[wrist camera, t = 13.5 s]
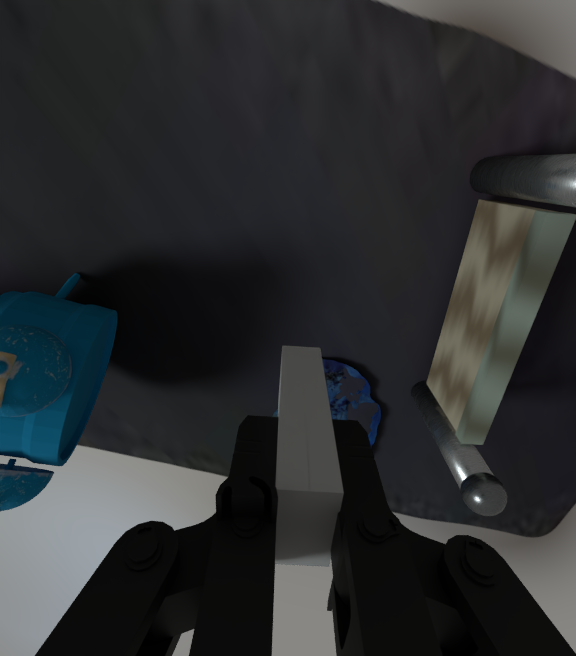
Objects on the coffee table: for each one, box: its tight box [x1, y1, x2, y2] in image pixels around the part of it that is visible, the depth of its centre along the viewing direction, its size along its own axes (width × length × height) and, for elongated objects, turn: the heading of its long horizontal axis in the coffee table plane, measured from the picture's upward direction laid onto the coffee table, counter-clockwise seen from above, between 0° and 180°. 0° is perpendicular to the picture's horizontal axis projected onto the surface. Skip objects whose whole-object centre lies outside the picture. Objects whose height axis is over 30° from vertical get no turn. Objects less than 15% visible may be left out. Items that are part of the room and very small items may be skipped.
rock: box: [271, 359, 381, 447], centre depth 43 cm, size 15×17×2 cm
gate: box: [426, 200, 576, 445], centre depth 31 cm, size 20×3×9 cm, turn 177°
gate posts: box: [411, 154, 576, 516], centre depth 29 cm, size 27×3×16 cm, turn 176°
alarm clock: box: [0, 273, 118, 511], centre depth 29 cm, size 17×10×20 cm, turn 157°
